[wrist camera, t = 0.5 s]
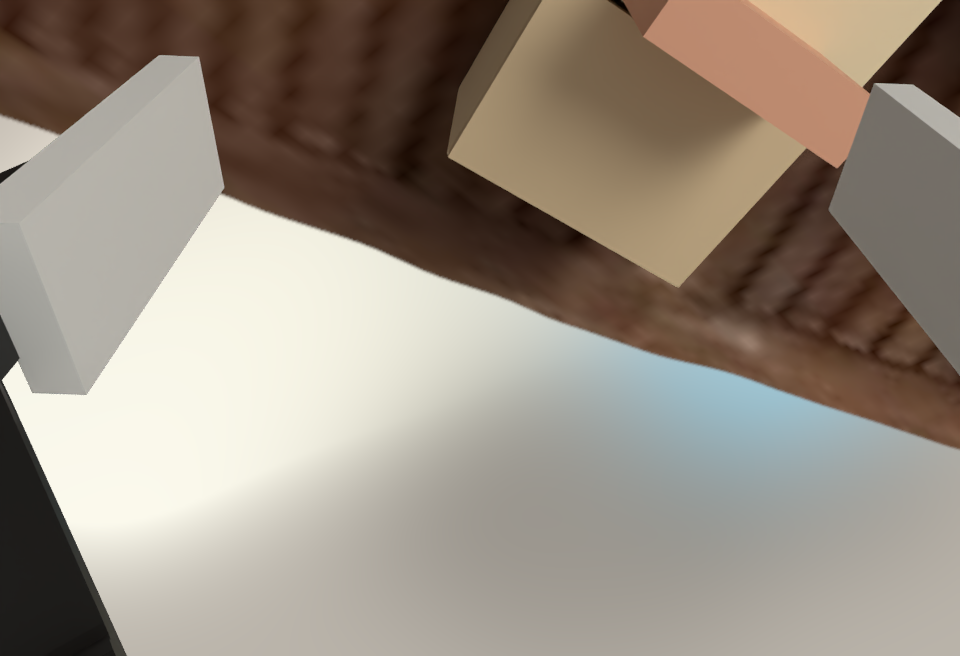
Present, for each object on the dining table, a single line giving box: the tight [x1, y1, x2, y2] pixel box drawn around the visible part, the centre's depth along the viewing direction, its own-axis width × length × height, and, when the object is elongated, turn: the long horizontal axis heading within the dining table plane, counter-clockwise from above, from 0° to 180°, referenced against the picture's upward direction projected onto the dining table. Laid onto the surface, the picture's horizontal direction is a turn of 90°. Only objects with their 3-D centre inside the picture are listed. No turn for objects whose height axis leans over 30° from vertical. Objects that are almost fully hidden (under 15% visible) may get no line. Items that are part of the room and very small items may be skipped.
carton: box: [447, 0, 806, 287], centre depth 36 cm, size 14×20×11 cm
